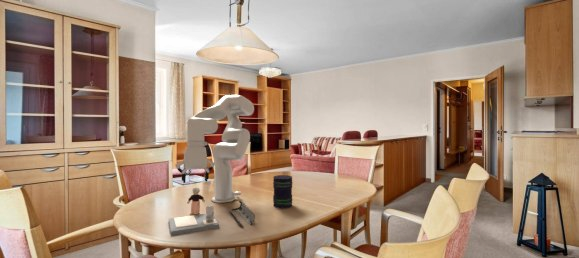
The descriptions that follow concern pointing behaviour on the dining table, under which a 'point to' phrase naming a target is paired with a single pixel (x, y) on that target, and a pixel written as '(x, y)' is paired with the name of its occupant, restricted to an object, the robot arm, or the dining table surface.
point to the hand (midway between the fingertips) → (195, 181)
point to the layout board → (191, 224)
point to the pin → (209, 214)
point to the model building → (244, 212)
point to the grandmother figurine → (195, 201)
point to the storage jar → (282, 191)
